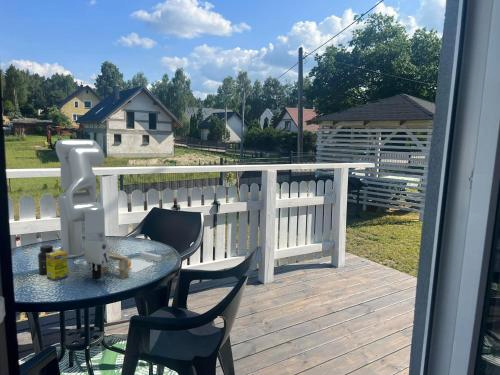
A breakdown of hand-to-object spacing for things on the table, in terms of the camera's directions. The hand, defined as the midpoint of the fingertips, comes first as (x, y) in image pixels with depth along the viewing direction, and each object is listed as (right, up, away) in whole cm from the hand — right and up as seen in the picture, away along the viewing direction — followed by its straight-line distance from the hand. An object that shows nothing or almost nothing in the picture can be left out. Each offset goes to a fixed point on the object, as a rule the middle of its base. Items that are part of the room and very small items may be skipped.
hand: (96, 278), depth 156 cm
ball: (+7, +3, +14) cm, 16 cm away
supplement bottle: (-25, 0, +9) cm, 27 cm away
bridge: (+4, 0, +8) cm, 9 cm away
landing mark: (+10, +1, +20) cm, 22 cm away
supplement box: (-18, -1, +4) cm, 19 cm away
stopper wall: (+15, +2, +29) cm, 33 cm away
